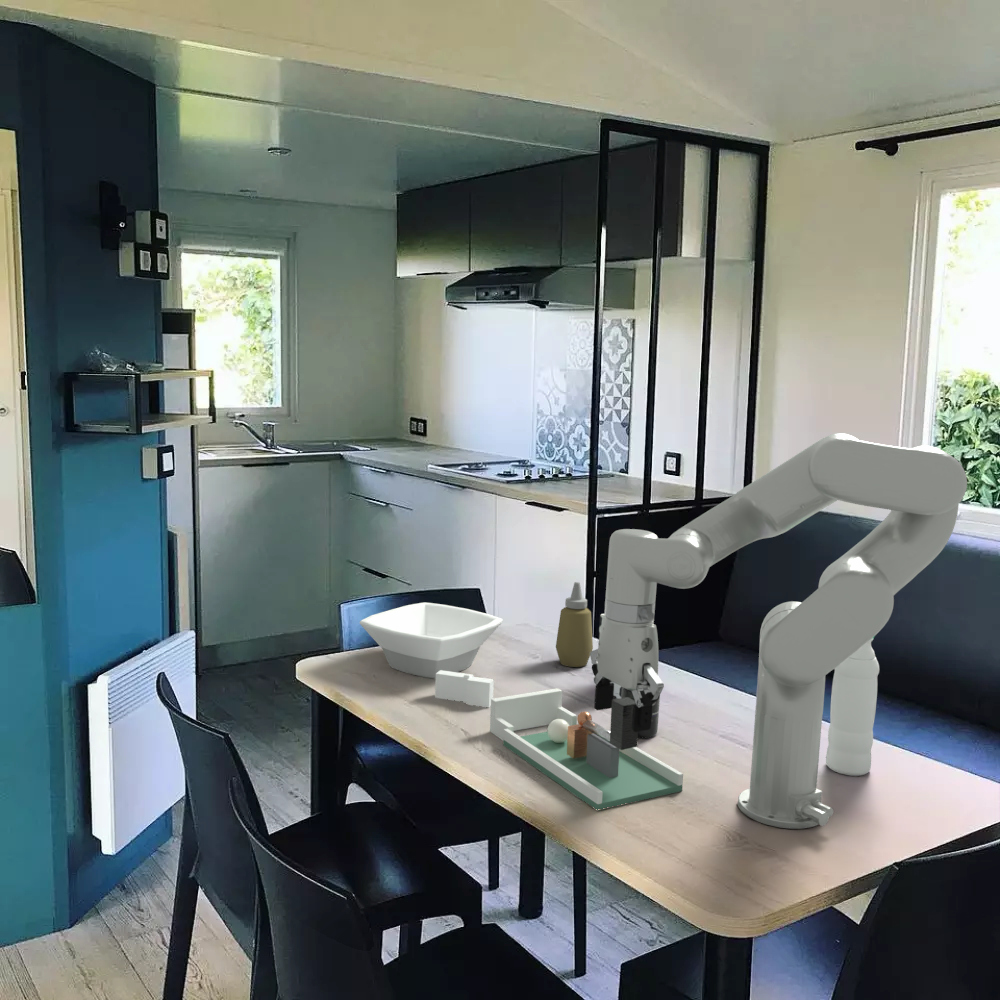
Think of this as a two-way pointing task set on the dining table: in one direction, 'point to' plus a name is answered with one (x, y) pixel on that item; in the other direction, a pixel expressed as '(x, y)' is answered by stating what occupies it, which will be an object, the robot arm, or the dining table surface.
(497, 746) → the dining table surface
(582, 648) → the squeeze bottle
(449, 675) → the white stepped block
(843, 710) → the water bottle
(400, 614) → the bowl
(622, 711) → the copper block with rod
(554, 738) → the ball
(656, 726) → the supplement bottle
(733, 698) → the dining table surface
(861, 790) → the dining table surface
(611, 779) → the pitch
